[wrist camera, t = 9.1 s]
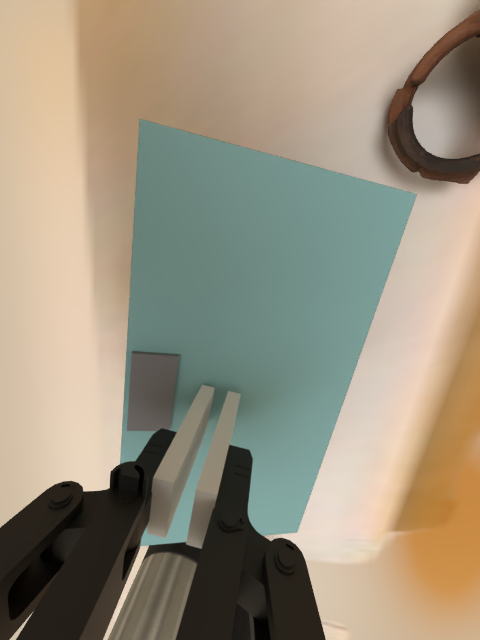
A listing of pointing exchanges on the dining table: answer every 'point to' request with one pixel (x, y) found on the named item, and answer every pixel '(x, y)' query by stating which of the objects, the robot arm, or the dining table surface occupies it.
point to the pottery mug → (403, 113)
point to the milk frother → (165, 596)
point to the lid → (250, 306)
